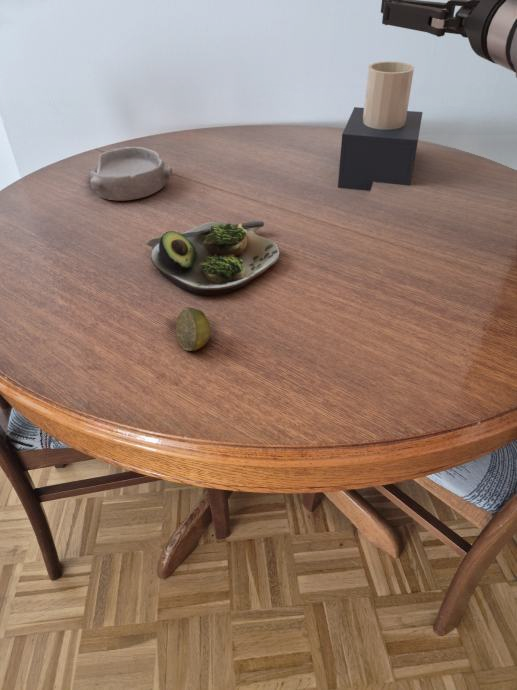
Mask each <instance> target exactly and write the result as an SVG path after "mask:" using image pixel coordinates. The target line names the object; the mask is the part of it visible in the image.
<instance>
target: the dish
mask: <svg viewBox="0 0 517 690" xmlns="http://www.w3.org/2000/svg"><path fill="white" fill-rule="evenodd" d="M96 168H97V169H96V172H95V170H94V169H91V171H90V172H89V173H90V174H89V176H90V179H89V181H90V187H91V188H92V189H93V191H95V193H96V194H97V195H98V197H100V198H102V199H105V200H110V201H119V202H120V201H122V202H123V201H132V200H138V199H142V198H146V197H148V196H151V195H153V194H155V193H157V192H158V191H160V190H161V189H162V188H164V187H165V185H166V180H170V179H171V178H172V176H173V168H172V166H171V165H168V166H166V165H165V162H164V161H163V158H162V156H161V155H160V153H158V152H156V151H155V150H153V149H150V148H146V147H143V146H125V147H119V148H113V149H110V150H108V151H105V152H102V153H100V154H99V156H98V160H97V167H96Z"/></svg>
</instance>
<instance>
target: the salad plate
mask: <svg viewBox="0 0 517 690" xmlns="http://www.w3.org/2000/svg"><path fill="white" fill-rule="evenodd" d="M264 225H265V223H264V222H263V221H262V220H253V221H250V222H238V223H236V224H235V223H231V222H225V221H224V222H220V221H214V222H213V221H210V222H205V223H202V224H200V225H197V226H195V227H193V228H190V229H189V230H187V231H185V232H182V233H180V232H178V231H173V230H171V231H169V230H168V231H165V232H164V233H163V234H162V235H161V237H157V238H156V237H155V238H153V239H149V241H147V243H145V245H146V246H148V247H150V248H151V249H152V251H151V254H150V260H151V263H152V265H153V266H154V267H155V269H156V270H157V271H158V272H159V273H160V275H162V276H163V277H164V278H165V279H166V280H167V281H169V282H171V284H173V285H174V286H176V287H177V286H178V287H177V288H179V287H180V288H179V289H181V290H183V291H185V292H187V293H190V294H194V293H195V294H194V295H199V296H205V297H214V296H220V295H224V294H227V293H230V292H233V291H234V290H238V289H240V288H242V287H244V286H246V285H247V284H248V283H249V282H250V281H252V280H254V279H255V278H257V277H258V276H260V275H262V274H263V273H264V272H266V271H267V270H268V269H269V268H270V267H271V266H273V265H275V264H276V263H277V261H278V260H279V258H280V256H281V253H280V247H279V245H277V243H275V242H274V241H272V240H270V239H268V238H266V237H263V236H261V235H258V234H257V233H256V231H257V230H260V229H261V228H263V227H264Z"/></svg>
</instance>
